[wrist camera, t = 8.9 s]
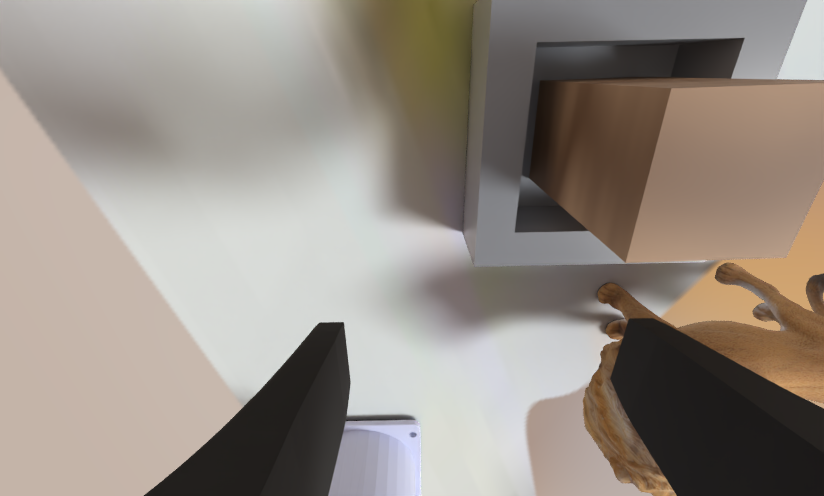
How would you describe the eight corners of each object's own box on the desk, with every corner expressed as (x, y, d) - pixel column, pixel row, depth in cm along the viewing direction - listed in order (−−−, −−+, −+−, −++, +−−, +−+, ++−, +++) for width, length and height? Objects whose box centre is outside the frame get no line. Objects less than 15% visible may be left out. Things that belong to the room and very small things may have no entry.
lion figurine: (546, 367, 22) (626, 539, 14) (532, 298, 20) (618, 455, 12) (807, 305, 20) (1075, 462, 12) (824, 222, 18) (1168, 345, 10)
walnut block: (617, 175, 16) (786, 257, 9) (529, 178, 16) (625, 263, 9) (640, 76, 14) (871, 81, 7) (540, 80, 14) (671, 88, 7)
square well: (652, 228, 18) (705, 261, 15) (462, 232, 18) (474, 266, 15) (721, -1, 14) (816, -23, 10) (473, 4, 14) (492, -16, 11)
